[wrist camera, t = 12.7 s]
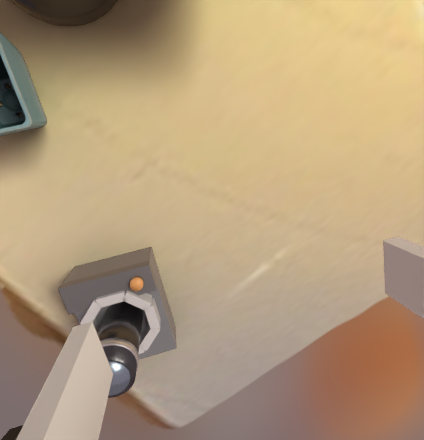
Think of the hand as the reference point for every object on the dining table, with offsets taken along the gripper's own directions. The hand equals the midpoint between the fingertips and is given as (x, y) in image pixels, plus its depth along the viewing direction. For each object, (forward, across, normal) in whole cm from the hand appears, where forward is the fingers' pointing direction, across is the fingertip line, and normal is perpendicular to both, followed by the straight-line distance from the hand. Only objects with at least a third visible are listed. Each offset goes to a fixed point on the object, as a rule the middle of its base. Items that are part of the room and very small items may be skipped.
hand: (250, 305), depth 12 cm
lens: (+24, -13, -13) cm, 30 cm away
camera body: (+29, -13, -13) cm, 34 cm away
